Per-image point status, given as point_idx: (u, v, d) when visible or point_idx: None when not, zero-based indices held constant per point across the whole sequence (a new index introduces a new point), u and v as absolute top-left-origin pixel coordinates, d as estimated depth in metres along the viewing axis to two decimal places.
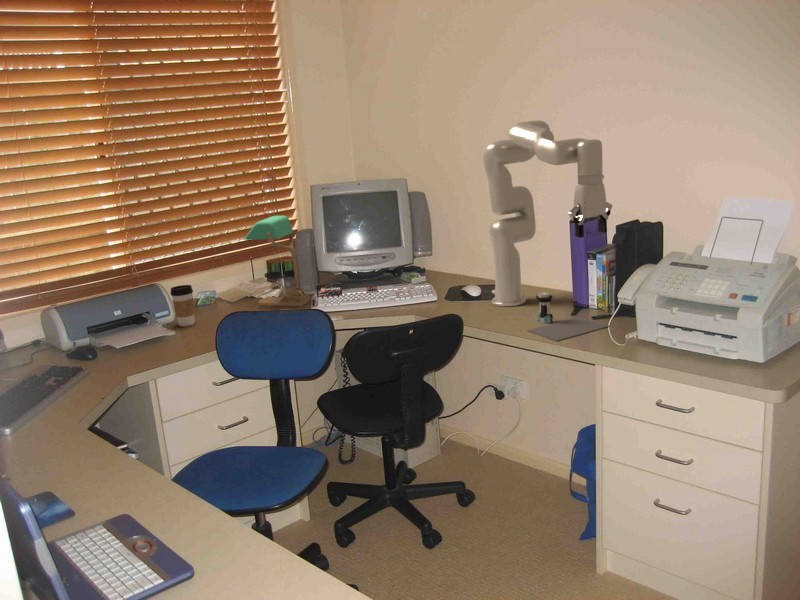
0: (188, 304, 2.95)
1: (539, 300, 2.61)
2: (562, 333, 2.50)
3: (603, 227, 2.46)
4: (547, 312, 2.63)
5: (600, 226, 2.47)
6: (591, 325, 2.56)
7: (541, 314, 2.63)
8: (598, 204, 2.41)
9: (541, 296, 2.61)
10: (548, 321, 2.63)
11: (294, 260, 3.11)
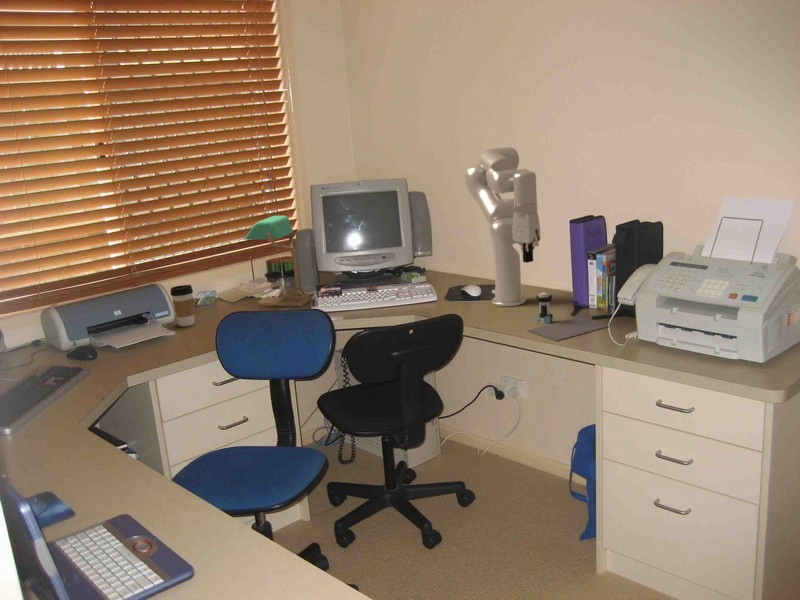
0: (188, 304, 2.95)
1: (539, 300, 2.61)
2: (562, 333, 2.50)
3: None
4: (547, 312, 2.63)
5: None
6: (591, 325, 2.56)
7: (541, 314, 2.63)
8: None
9: (541, 296, 2.61)
10: (548, 321, 2.63)
11: (294, 260, 3.11)
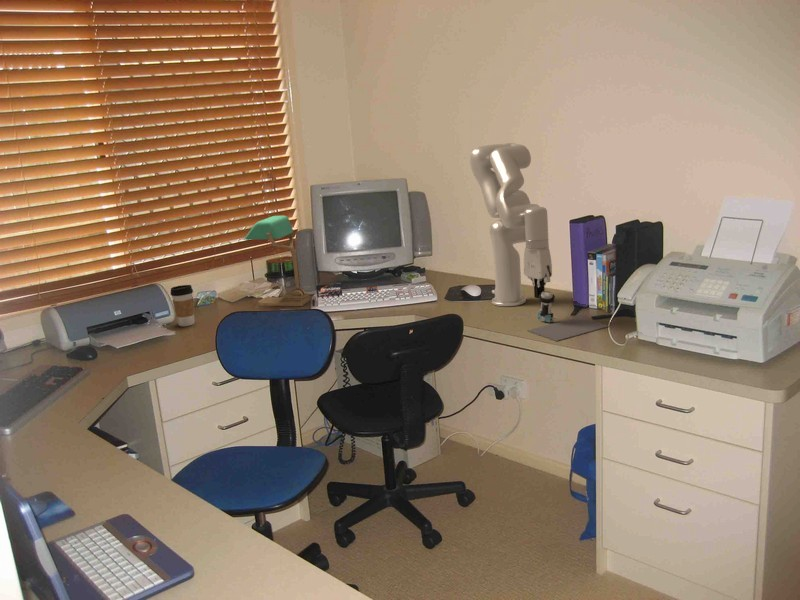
0: (188, 304, 2.95)
1: (541, 300, 2.59)
2: (562, 333, 2.50)
3: None
4: (548, 312, 2.62)
5: None
6: (591, 325, 2.56)
7: (542, 313, 2.63)
8: None
9: (544, 296, 2.59)
10: (548, 320, 2.63)
11: (294, 260, 3.11)
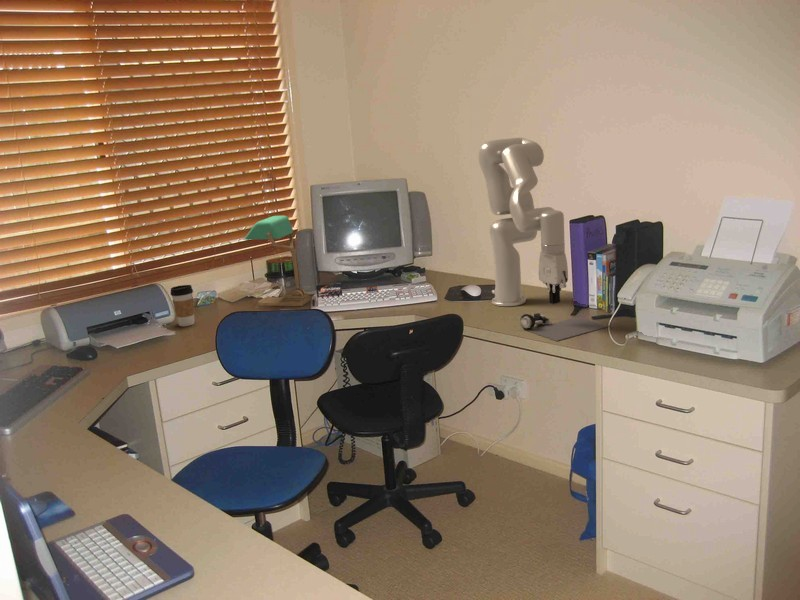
0: (188, 304, 2.95)
1: None
2: (562, 333, 2.50)
3: None
4: None
5: None
6: (591, 325, 2.56)
7: None
8: None
9: None
10: None
11: (294, 260, 3.11)
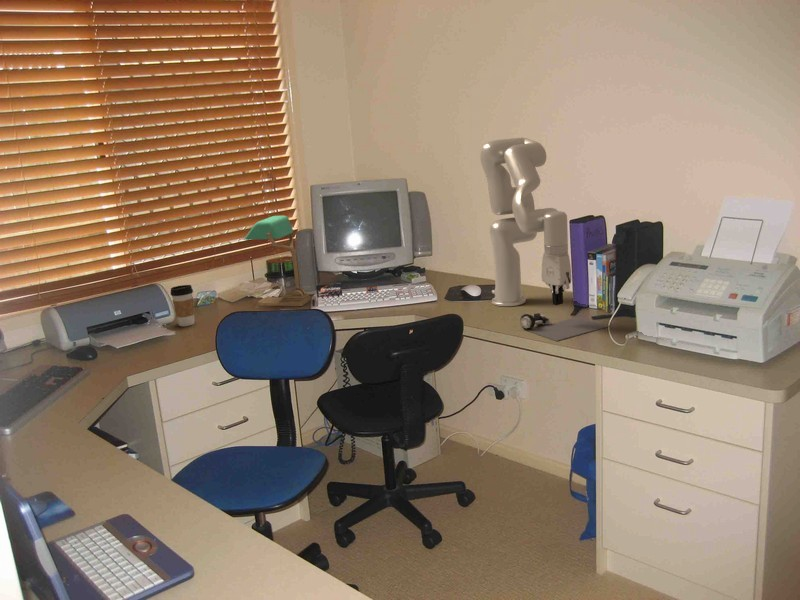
0: (188, 304, 2.95)
1: None
2: (562, 333, 2.50)
3: None
4: None
5: None
6: (591, 325, 2.56)
7: None
8: None
9: None
10: None
11: (294, 260, 3.11)
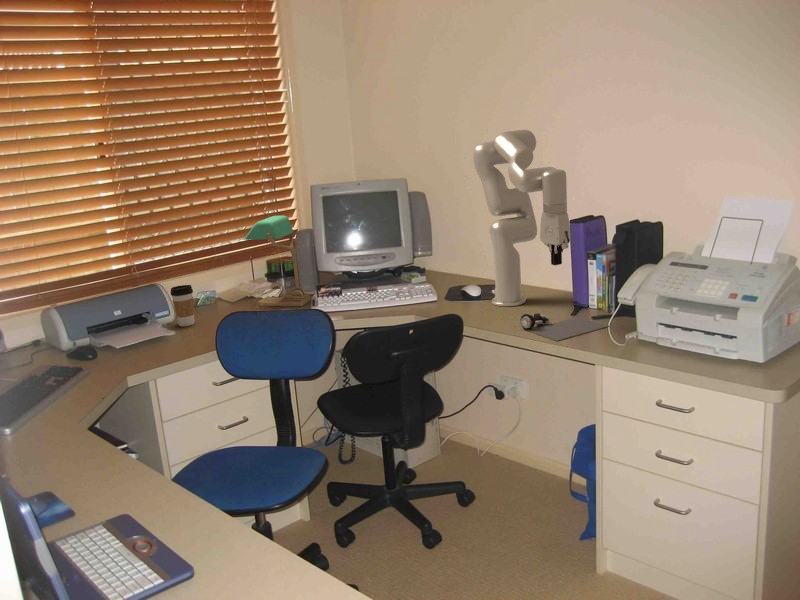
0: (188, 304, 2.95)
1: None
2: (562, 333, 2.50)
3: None
4: None
5: None
6: (591, 325, 2.56)
7: None
8: None
9: None
10: None
11: (294, 260, 3.11)
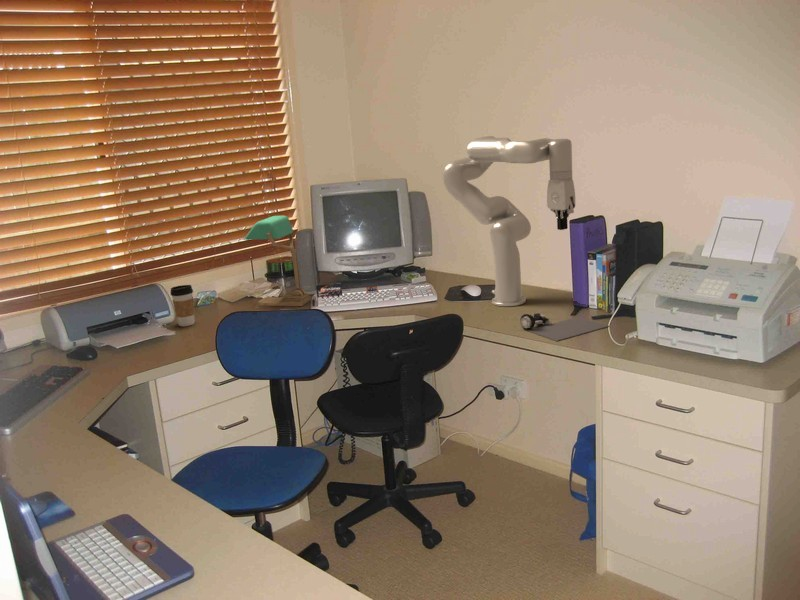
0: (188, 304, 2.95)
1: None
2: (562, 333, 2.50)
3: None
4: None
5: None
6: (591, 325, 2.56)
7: None
8: None
9: None
10: None
11: (294, 260, 3.11)
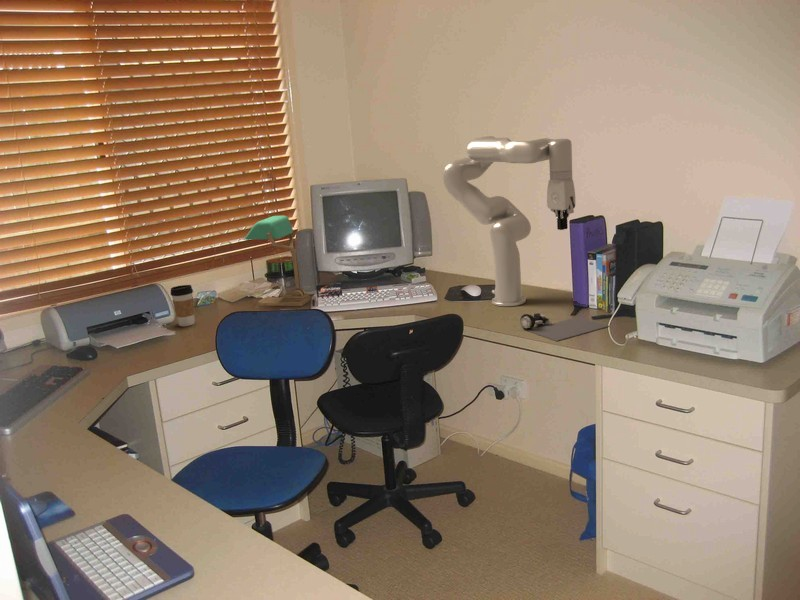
0: (188, 304, 2.95)
1: None
2: (562, 333, 2.50)
3: None
4: None
5: None
6: (591, 325, 2.56)
7: None
8: None
9: None
10: None
11: (294, 260, 3.11)
